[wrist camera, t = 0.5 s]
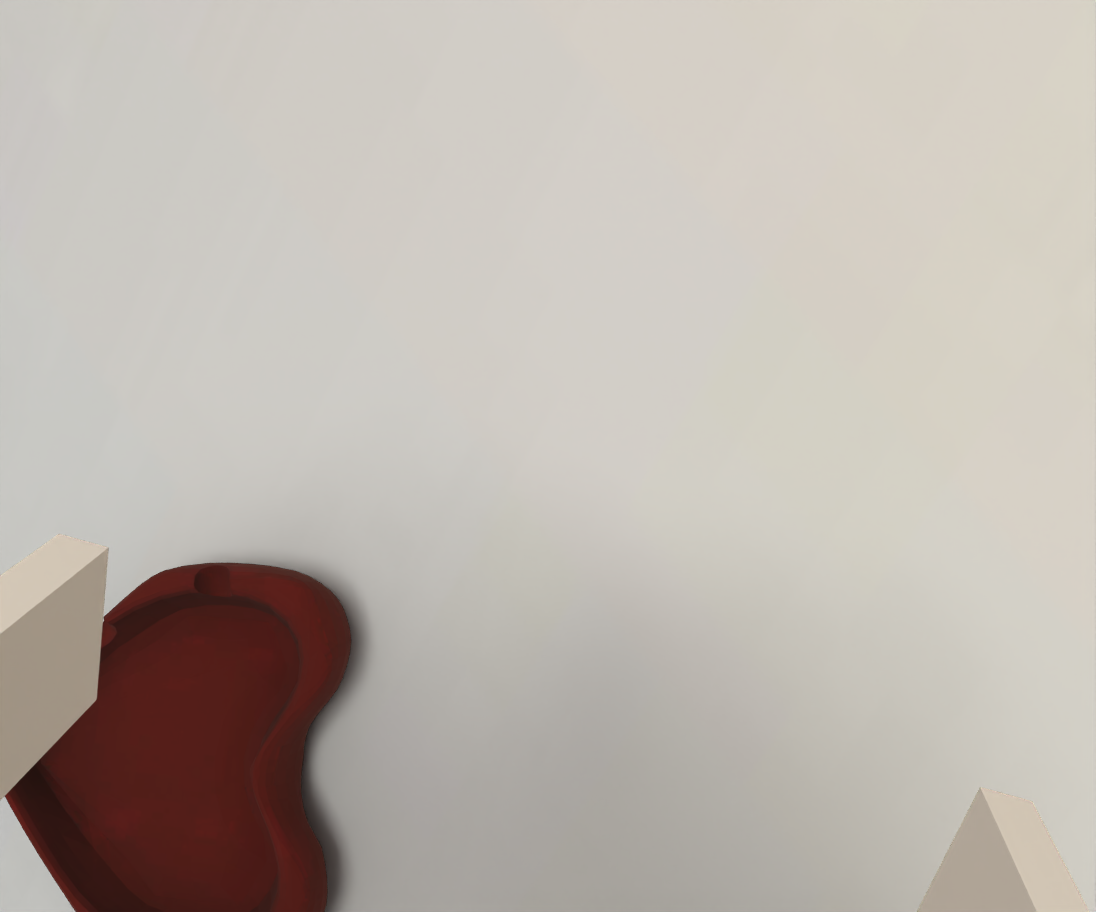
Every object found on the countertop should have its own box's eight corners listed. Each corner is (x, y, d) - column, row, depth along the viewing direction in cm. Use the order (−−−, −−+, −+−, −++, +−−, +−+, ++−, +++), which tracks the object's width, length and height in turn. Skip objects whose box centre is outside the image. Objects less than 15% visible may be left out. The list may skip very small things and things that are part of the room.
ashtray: (71, 552, 49) (4, 547, 45) (377, 572, 47) (342, 570, 42) (21, 918, 47) (-55, 955, 42) (341, 959, 45) (300, 1003, 40)
